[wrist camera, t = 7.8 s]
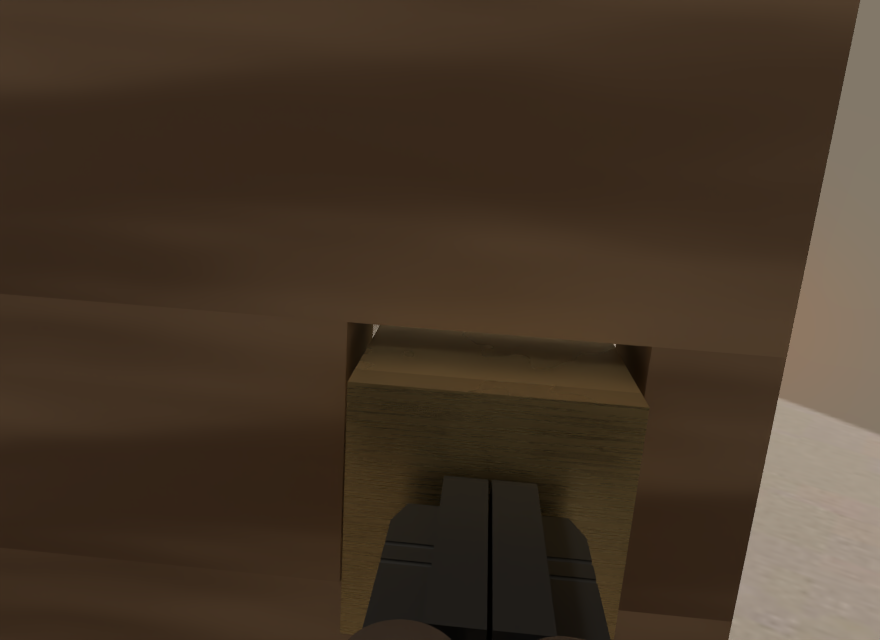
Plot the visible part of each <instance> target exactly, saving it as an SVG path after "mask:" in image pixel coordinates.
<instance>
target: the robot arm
mask: <svg viewBox="0 0 880 640" xmlns="http://www.w3.org/2000/svg"><path fill="white" fill-rule="evenodd" d="M348 640H611V639H610V635H609V631H608V626H607V622H606V618H605V614H604V609H603V605H602V601H601V597H600V592H599V588H598V584H596V575H595V571H594V567H593V565H592V558H591V554H590V550H589V546H588V541H587V538H586V537H585V536H584V535H583V534H582V532H581V531H580V530H579V529H578V528H577V527H576V526H575V525H574V523H573V522H572V521H571V520H570V519H569V518H559V517H549V516H541V509H540V501H539V493H538V486H537V484H532V483H521V482H510V481H500V480H492V482H491V490H490V501H489V511H488V480H487V479H476V478H466V477H455V476H444V478H443V486H442V493H441V500H440V506H432V505H421V504H411V503H408V504H407V505H406V506H405V507H404V508H403V509H402V510H401V511H399V512H398V513H397V514H396V515H395V516H394V517H393V518H392V519H391V520H390V524H389V528H388V532H387V535H386V539H385V545H384V547H383V551H382V555H381V560H380V562H379V566H378V570H377V574H376V578H375V581H374V585H373V589H372V593H371V597H370V601H369V604H368V608H367V612H366V616H365V620H364V624H363V627H362V629H361V630H359V631H358V632H356V633H355V634H354V635H353V636H351V637H350V638H349V639H348Z"/></svg>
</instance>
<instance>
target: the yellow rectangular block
mask: <svg viewBox="0 0 880 640" xmlns="http://www.w3.org/2000/svg"><path fill="white" fill-rule="evenodd" d="M649 408H650V407H649V406H648V404H647V402H646V400H645V399H644V397H643V395H642V393H641V392H640V390H639V388H638V386H637V385H636V383H635V381H634V379H633V378H632V376H631V374H630V372H629V371H628V369H627V367H626V365H625V364H624V362H623V360H622V358H621V357H620V355H619V353H618V351H617V350H616V348H615V346H614V344H611V343H598V342H586V341H574V340H562V339H549V338H537V337H525V336H512V335H500V334H488V333H475V332H463V331H451V330H439V329H426V328H414V327H402V326H389V325H380V326H379V328H378V330H377V332H376V333H375V335H374V337H373V339H372V340H371V342H370V344H369V345H368V347H367V349H366V351H365V352H364V354H363V356H362V358H361V359H360V361H359V363H358V365H357V366H356V368H355V370H354V371H353V373H352V375H351V377H350V378H349V380H348V386H347V419H346V452H345V485H344V518H343V551H342V584H341V617H340V633H342V634H351V635H354V634H355V633H356V632H358V631H359V630H361V629H362V627H363V624H364V620H365V616H366V612H367V608H368V604H369V601H370V597H371V593H372V589H373V585H374V581H375V578H376V574H377V570H378V566H379V562H380V560H381V555H382V551H383V547H384V545H385V539H386V535H387V532H388V528H389V524H390V520H391V519H392V518H393V517H394V516H395V515H396V514H397V513H398V512H399V511H401V510H402V509H403V508H404V507H405V506H406V505H407V504H408V503H411V504H421V505H432V506H440V500H441V493H442V486H443V478H444V476H455V477H466V478H476V479H487V480H488V511H489V501H490V490H491V482H492V480H500V481H510V482H521V483H532V484H537V486H538V493H539V501H540V509H541V516H549V517H559V518H569V519H570V520H571V521H572V522H573V523H574V525H575V526H576V527H577V528H578V529H579V530H580V531H581V532H582V534H583V535H584V536H585V537H586V538H587V541H588V546H589V550H590V554H591V558H592V565H593V567H594V571H595V575H596V584H598V588H599V592H600V597H601V601H602V605H603V609H604V614H605V618H606V622H607V626H608V631H609V635H610V639H611V640H614V635H615V628H616V622H617V615H618V609H619V602H620V596H621V590H622V583H623V577H624V570H625V564H626V557H627V551H628V544H629V538H630V531H631V525H632V518H633V512H634V505H635V499H636V492H637V486H638V479H639V473H640V467H641V460H642V454H643V447H644V441H645V434H646V428H647V421H648V415H649Z"/></svg>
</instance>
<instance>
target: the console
mask: <svg viewBox="0 0 880 640" xmlns="http://www.w3.org/2000/svg"><path fill="white" fill-rule="evenodd" d="M859 3H860V0H0V640H348V639H349V638H350V637H351V636H353V635H351V634H342V633H340V617H341V584H342V551H343V518H344V485H345V452H346V419H347V386H348V380H349V378H350V377H351V375H352V373H353V371H354V370H355V368H356V366H357V365H358V363H359V361H360V359H361V358H362V356H363V354H364V352H365V351H366V349H367V347H368V345H369V344H370V342H371V340H372V336H373V324H377V325H389V326H402V327H414V328H426V329H439V330H451V331H463V332H475V333H488V334H500V335H512V336H525V337H537V338H549V339H562V340H574V341H586V342H598V343H611V344H616V350H617V351H618V353H619V355H620V357H621V358H622V360H623V362H624V364H625V365H626V367H627V369H628V371H629V372H630V374H631V376H632V378H633V379H634V381H635V383H636V385H637V386H638V388H639V390H640V392H641V393H642V395H643V397H644V399H645V400H646V402H647V404H648V406H649V407H650V408H649V415H648V421H647V428H646V434H645V441H644V447H643V454H642V460H641V467H640V473H639V479H638V486H637V492H636V499H635V505H634V512H633V518H632V525H631V531H630V538H629V544H628V551H627V557H626V564H625V570H624V577H623V583H622V590H621V596H620V602H619V609H618V615H617V622H616V628H615V635H614V640H728V638H729V633H730V629H731V624H732V619H733V614H734V609H735V604H736V599H737V595H738V590H739V585H740V580H741V575H742V570H743V566H744V561H745V556H746V551H747V546H748V541H749V536H750V532H751V527H752V522H753V517H754V512H755V507H756V503H757V498H758V493H759V488H760V483H761V478H762V473H763V469H764V464H765V459H766V454H767V449H768V444H769V440H770V435H771V430H772V425H773V420H774V415H775V410H776V406H777V401H778V396H779V390H780V386H781V381H782V376H783V371H784V367H785V362H786V357H787V352H788V347H789V343H790V338H791V333H792V328H793V323H794V318H795V313H796V309H797V303H798V299H799V293H800V289H801V284H802V280H803V275H804V270H805V265H806V260H807V255H808V251H809V245H810V241H811V236H812V231H813V226H814V221H815V216H816V212H817V207H818V202H819V197H820V192H821V187H822V182H823V177H824V173H825V168H826V163H827V158H828V154H829V149H830V144H831V139H832V134H833V129H834V124H835V120H836V115H837V110H838V105H839V100H840V95H841V91H842V86H843V81H844V76H845V71H846V66H847V61H848V57H849V51H850V47H851V42H852V37H853V32H854V28H855V23H856V18H857V13H858V8H859Z"/></svg>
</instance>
